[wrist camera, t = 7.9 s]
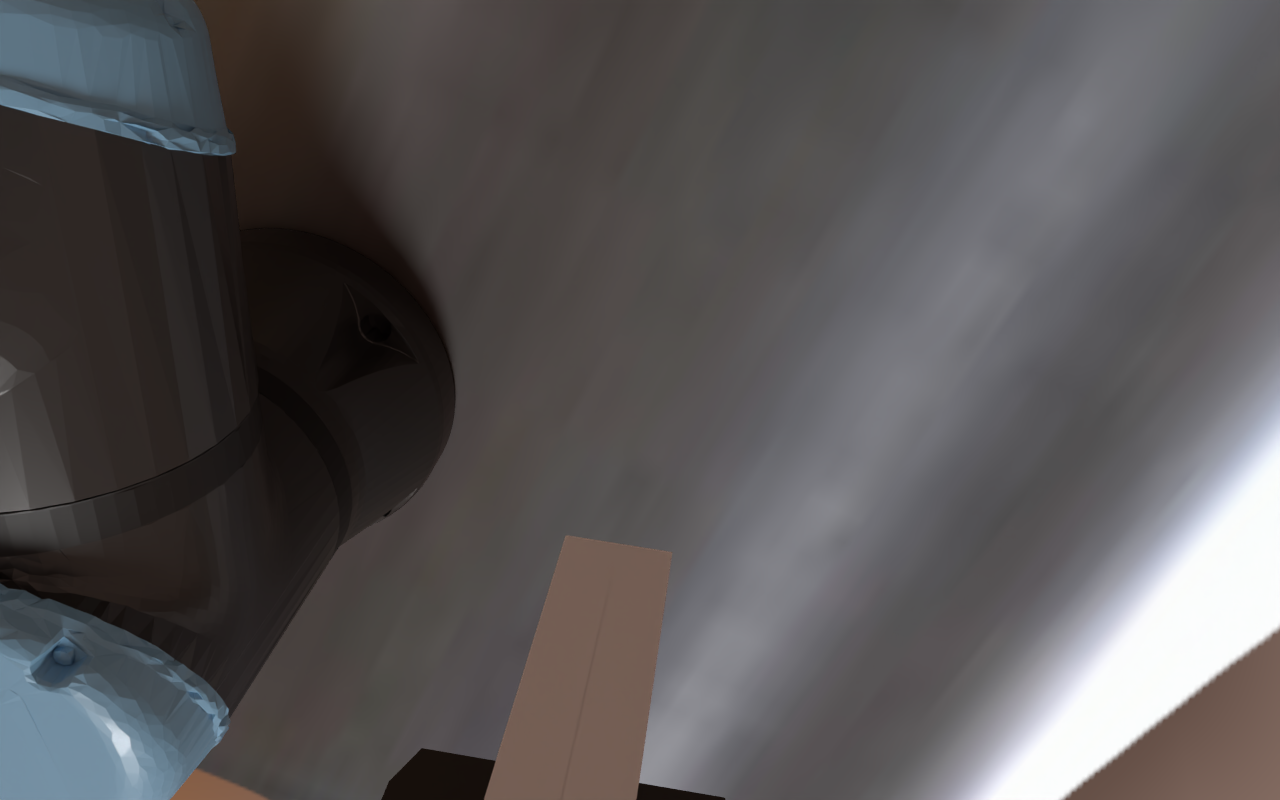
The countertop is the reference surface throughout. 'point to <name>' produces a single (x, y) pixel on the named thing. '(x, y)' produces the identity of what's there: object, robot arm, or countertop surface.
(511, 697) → the countertop surface
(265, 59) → the countertop surface
